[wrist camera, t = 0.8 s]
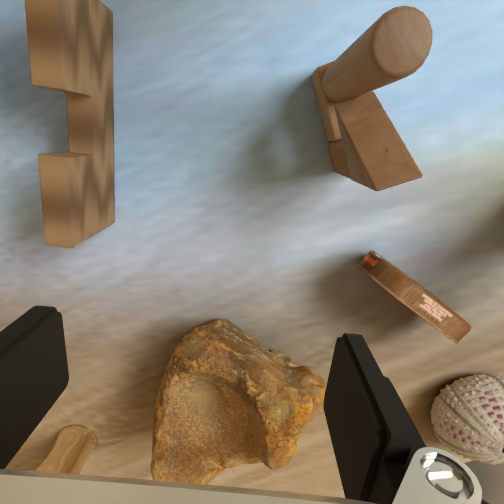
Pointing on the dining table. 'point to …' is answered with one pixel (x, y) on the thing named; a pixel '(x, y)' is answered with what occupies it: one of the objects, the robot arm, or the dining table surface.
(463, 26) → the dining table surface
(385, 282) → the tin
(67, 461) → the beer glass
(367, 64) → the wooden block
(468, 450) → the sea urchin shell
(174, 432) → the rough brown rock
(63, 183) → the walnut slotted board
